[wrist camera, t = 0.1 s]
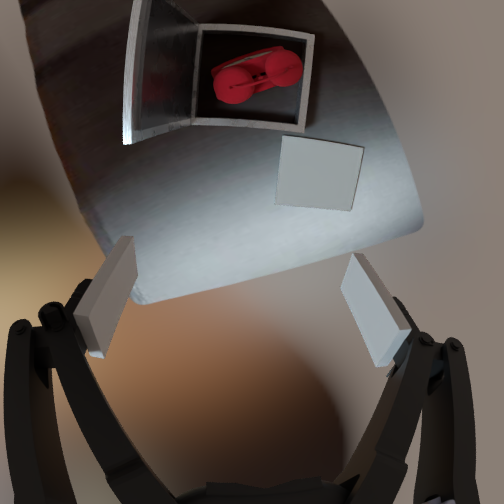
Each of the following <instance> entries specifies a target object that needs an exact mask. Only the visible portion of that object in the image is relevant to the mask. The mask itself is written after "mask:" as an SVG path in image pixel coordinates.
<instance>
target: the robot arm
mask: <svg viewBox="0 0 504 504" xmlns="http://www.w3.org/2000/svg"><path fill="white" fill-rule="evenodd" d="M137 276H138V272H137V264H136V256H135V247H134V237H133V236H121V237H120V239H119V240H118V242H117V243H116V245H115V246H114V248H113V249H112V251H111V252H110V254H109V255H108V257H107V258H106V260H105V261H104V263H103V264H102V266H101V268H100V269H99V271H98V272H97V274H96V276H95V277H94V279H85V280H83V281H82V282H81V283H80V284H78V286H77V288H76V289H75V291H74V292H73V294H72V295H71V298H70V299H69V301H68V302H67V304H66V305H65V307H64V306H63V305H62V304H61V303H59V302H49V303H47V304H45V305H44V306H43V307H42V308H41V309H40V310H39V312H38V317H39V320H40V322H41V324H42V326H39V327H32V325H31V323H30V322H29V321H28V320H26V319H20V320H17V321H16V322H14V323H13V324H12V326H11V327H10V329H9V334H8V341H7V350H6V359H5V373H4V428H5V440H6V450H7V458H8V464H9V470H10V476H11V481H12V486H13V491H14V504H77V502H76V499H75V495H74V492H73V489H72V486H71V483H70V479H69V475H68V472H67V468H66V464H65V460H64V456H63V451H62V447H61V442H60V437H59V431H58V425H57V419H56V412H55V404H54V395H53V384H52V368H56V370H57V373H58V376H59V379H60V382H61V384H62V387H63V390H64V392H65V395H66V397H67V400H68V402H69V405H70V407H71V409H72V411H73V414H74V416H75V418H76V420H77V422H78V425H79V427H80V429H81V431H82V433H83V435H84V437H85V439H86V441H87V443H88V444H89V447H90V448H91V450H92V452H93V454H94V456H95V457H96V459H97V461H98V463H99V464H100V466H101V468H102V469H103V471H104V473H105V475H106V480H107V483H108V484H109V486H110V488H111V489H112V491H113V492H114V494H115V495H116V496H117V498H118V499H119V501H120V502H121V503H122V504H393V502H394V500H395V498H396V495H397V493H398V491H399V489H400V486H401V484H402V482H403V480H404V477H405V475H406V473H407V469H408V465H407V464H406V463H405V458H406V455H407V453H408V450H409V447H410V444H411V442H412V439H413V436H414V433H415V430H416V427H417V423H418V420H419V417H420V413H421V410H422V427H421V443H420V453H419V462H418V470H417V477H416V483H415V489H414V499H413V504H480V501H479V495H478V489H477V484H476V480H475V471H476V437H475V420H474V409H473V399H472V392H471V384H470V378H469V372H468V367H467V361H466V356H465V351H464V347H463V345H462V344H461V342H460V341H459V340H457V339H455V338H452V337H450V338H448V339H447V340H446V341H445V343H444V344H442V343H437V342H435V341H434V339H433V338H432V337H431V336H430V335H429V334H427V333H425V332H420V331H419V329H418V327H417V326H416V324H415V323H414V321H413V319H412V318H411V316H410V315H409V313H408V311H407V310H406V308H405V307H404V305H403V304H402V302H401V301H399V300H398V299H397V298H396V297H392V296H391V294H390V293H389V291H388V290H387V288H386V287H385V285H384V284H383V282H382V281H381V279H380V278H379V276H378V275H377V273H376V272H375V270H374V269H373V268H372V266H371V265H370V263H369V262H368V260H367V259H366V257H365V256H364V254H359V253H352V256H351V259H350V262H349V265H348V268H347V271H346V274H345V277H344V279H343V282H342V285H341V290H342V293H343V295H344V297H345V299H346V301H347V303H348V305H349V308H350V310H351V312H352V314H353V316H354V318H355V321H356V323H357V325H358V327H359V329H360V332H361V334H362V336H363V338H364V341H365V343H366V345H367V348H368V350H369V352H370V355H371V357H372V359H373V362H374V364H375V367H382V366H387V365H388V364H389V363H390V362H391V360H392V359H394V361H395V365H394V366H393V368H392V369H391V370H390V372H389V373H388V374H387V376H386V377H388V376H389V378H388V381H387V383H386V386H385V388H384V391H383V393H382V395H381V398H380V400H379V403H378V405H377V407H376V409H375V412H374V414H373V416H372V418H371V420H370V423H369V425H368V426H367V428H366V431H365V433H364V434H363V437H362V438H361V441H360V442H359V444H358V446H357V448H356V450H355V452H354V453H353V455H352V457H351V459H350V461H349V462H348V464H347V466H346V467H345V469H344V470H343V472H342V473H341V474H340V475H339V476H338V477H337V478H336V479H335V481H334V482H333V483H331V482H327V481H321V477H320V476H318V477H312V478H305V479H297V480H292V481H290V482H286V483H283V484H280V485H277V486H274V487H270V488H265V489H264V488H258V487H252V486H248V485H243V484H237V483H214V482H212V483H211V482H206V486H202V487H198V488H194V489H191V490H189V491H187V492H184V493H183V494H181V495H179V496H178V497H177V498H175V497H174V495H173V494H172V493H171V492H170V491H169V490H168V488H167V487H166V486H165V485H164V484H163V483H162V481H161V480H160V479H159V478H158V477H157V476H156V474H155V473H154V472H153V470H152V469H151V468H150V466H149V465H148V464H147V462H146V461H145V460H144V458H143V457H142V455H141V454H140V453H139V451H138V450H137V449H136V447H135V445H134V444H133V442H132V441H131V439H130V438H129V436H128V435H127V433H126V432H125V430H124V429H123V427H122V425H121V424H120V422H119V420H118V419H117V417H116V416H115V414H114V412H113V410H112V409H111V407H110V405H109V403H108V402H107V400H106V398H105V396H104V395H103V392H102V390H101V388H100V387H99V384H98V382H97V381H96V378H95V377H94V374H93V372H92V370H91V368H90V366H89V364H88V362H87V359H86V357H85V352H86V350H87V349H88V351H89V354H90V355H91V356H93V357H98V358H103V359H104V358H105V356H106V353H107V350H108V348H109V345H110V342H111V340H112V337H113V334H114V332H115V329H116V326H117V324H118V321H119V319H120V316H121V314H122V311H123V309H124V307H125V304H126V302H127V299H128V297H129V295H130V292H131V290H132V288H133V285H134V283H135V281H136V279H137Z"/></svg>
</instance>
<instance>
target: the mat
mask: <svg viewBox="0 0 504 504" xmlns="http://www.w3.org/2000/svg"><path fill="white" fill-rule="evenodd" d="M362 154H363V148H361V147H356V146H351V145H345V144H340V143H334V142H328V141H322V140H315V139H308V138H300V137H293V136H284V135H283V137H282V145H281V154H280V162H279V171H278V179H277V187H276V195H275V203H274V204H275V205H283V206H296V207H308V208H320V209H330V210H340V211H351V206H352V202H353V198H354V193H355V189H356V184H357V179H358V174H359V169H360V164H361V159H362Z"/></svg>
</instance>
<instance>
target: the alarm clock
mask: <svg viewBox="0 0 504 504" xmlns="http://www.w3.org/2000/svg"><path fill="white" fill-rule="evenodd" d="M302 73H303V66H302V62H301V60H300V59H299V57H298V56H297V55H296V54H295V53H294V52H292V51H289V50H285V49H284V48H283V47H282V46H277V47H271V48H266V49H262V50H258V51H255V52H252V53H248V54H245V55H243V56H240V57H237V58H234V59H232V60H229V61H227V62H225V63H223V64H221V65H219V66H217V67H215V68H213V69H212V70H211V75H212V77H213V78H214V82H213V86H214V90H215V93H216V97H217V99H218V100H222V101H224V102H226V103H229V104H237V103H241V102H244V101H245V100H247V99H248V98H250V97H251V96H252V94H254V93H257V92H260V91H263V90H266V89H269V88H272V87H274V86H277V85H278V86H283V87H285V86H290V85H293V84H295V83H296V82H298V81H299V79H300V78H301V76H302Z"/></svg>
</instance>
